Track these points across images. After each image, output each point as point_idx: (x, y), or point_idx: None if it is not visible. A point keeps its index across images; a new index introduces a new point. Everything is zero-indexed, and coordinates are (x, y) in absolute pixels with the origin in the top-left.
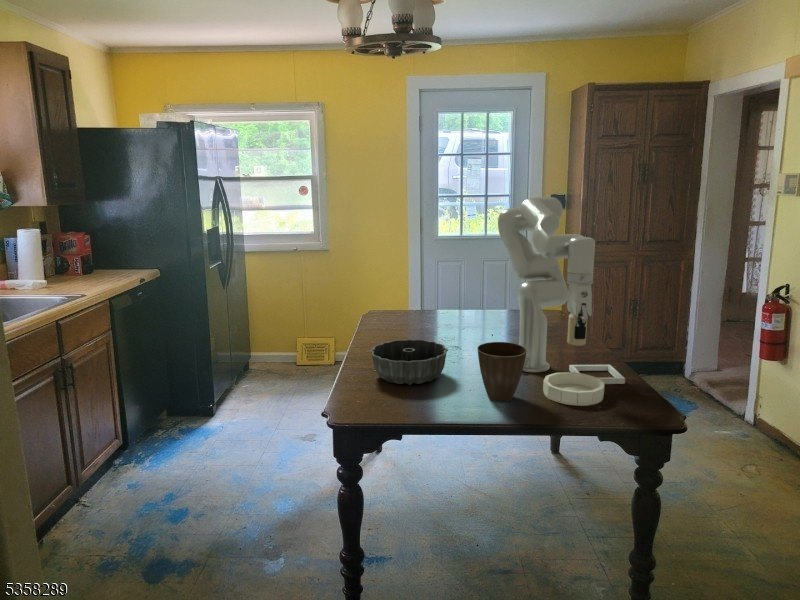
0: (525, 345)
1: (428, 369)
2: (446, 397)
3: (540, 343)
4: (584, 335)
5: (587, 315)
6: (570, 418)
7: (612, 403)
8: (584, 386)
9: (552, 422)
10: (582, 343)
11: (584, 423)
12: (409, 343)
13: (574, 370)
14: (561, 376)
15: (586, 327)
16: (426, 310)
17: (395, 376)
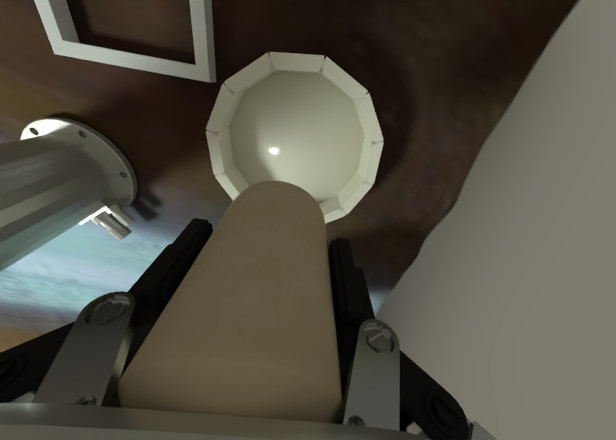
0: (59, 234)
1: None
2: None
3: (34, 197)
4: (349, 256)
5: (315, 422)
6: (415, 210)
7: (380, 62)
8: (255, 93)
9: (415, 243)
10: (324, 220)
11: (448, 195)
12: None
13: (120, 64)
14: (225, 160)
15: (307, 265)
16: None
17: None
